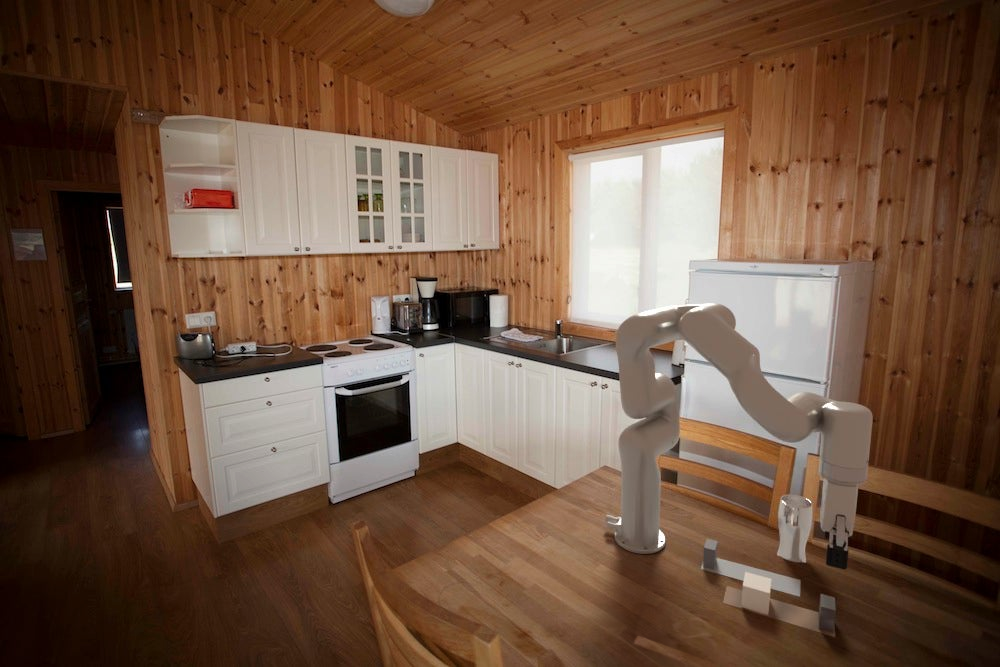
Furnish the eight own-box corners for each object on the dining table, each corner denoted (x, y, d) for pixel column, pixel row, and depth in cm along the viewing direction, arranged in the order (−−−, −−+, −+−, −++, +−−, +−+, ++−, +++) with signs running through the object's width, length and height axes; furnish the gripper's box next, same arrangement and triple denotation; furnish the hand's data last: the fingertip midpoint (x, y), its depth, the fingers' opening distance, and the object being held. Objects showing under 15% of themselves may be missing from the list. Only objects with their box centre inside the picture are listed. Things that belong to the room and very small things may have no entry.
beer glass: (812, 569, 122) (818, 510, 119) (780, 566, 123) (784, 507, 120) (802, 551, 128) (807, 494, 125) (771, 548, 130) (775, 492, 127)
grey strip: (700, 572, 122) (701, 549, 120) (705, 558, 127) (706, 535, 126) (799, 600, 112) (802, 575, 111) (800, 584, 117) (802, 560, 116)
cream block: (741, 606, 109) (742, 585, 108) (743, 592, 113) (745, 571, 112) (768, 615, 107) (769, 593, 106) (769, 599, 111) (771, 578, 110)
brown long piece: (722, 606, 111) (724, 581, 109) (726, 589, 116) (728, 565, 115) (834, 641, 101) (837, 614, 100) (833, 621, 106) (836, 595, 105)
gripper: (818, 448, 106) (812, 525, 110) (819, 485, 92) (812, 572, 95) (863, 455, 103) (855, 534, 106) (871, 494, 88) (862, 585, 91)
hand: (835, 552), depth 100 cm, fingers open, 9 cm apart
